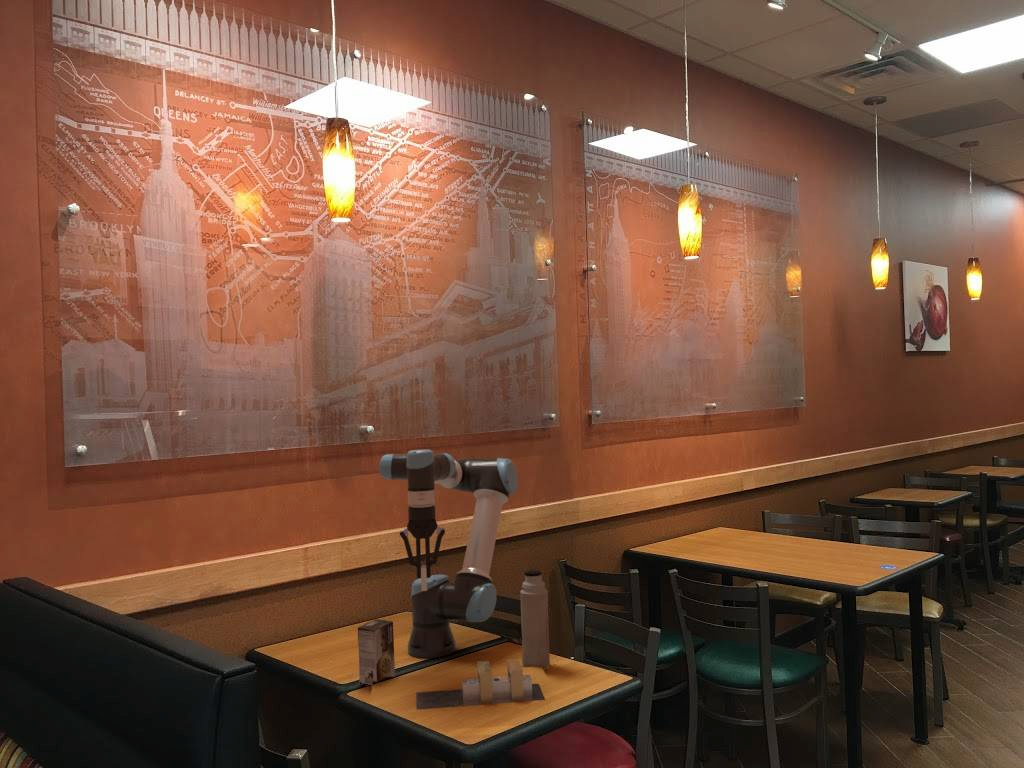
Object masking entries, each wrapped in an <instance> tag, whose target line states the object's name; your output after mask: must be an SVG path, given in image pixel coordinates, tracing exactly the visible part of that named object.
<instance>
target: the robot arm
mask: <svg viewBox="0 0 1024 768" xmlns="http://www.w3.org/2000/svg"><path fill="white" fill-rule="evenodd" d="M378 467H379V468H378V471H379V474H380V475H381V477H382V478H383V479H385V480H391V481H393V480H400V481H407V505H409V506H408V507H407V511H408V512H407V513H408V515H407V516H408V522H407V524H406V527H405V528H404V529H403V530H400V531H399V536H400V538H401V539H402V540H403V543H404V546H405V551H406V553H407V556H408V557H407V558H408V562H409V565H411V566H414V567H416V578H417V579H415V580H414V581H413V582H412V584H411V594H410V596H411V613H412V614H411V615H412V617H411V618H412V629H411V633H410V636H409V638H408V641H407V642H408V643H407V653H408V655H410V656H411V657H415V658H421V659H431V658H432V659H433V658H442V657H446V656H448V655H451V654H454V652H455V651H456V650H457V641H456V639H455V636H454V633H453V631H452V627H451V624H450V622H451V621H461V622H469V623H475V622H476V623H482V622H485V621H487V620H488V619H489V618H491V616H492V614H493V613H494V610H495V607H496V603H497V588H496V586H495V585H494V584H493V579H492V578H491V576H490V571H491V565H492V560H493V555H494V551H495V545H496V540H497V535H498V531H499V530H498V529H499V524H500V520H501V514H502V508H503V505H506V503H508V501H509V498H510V497H509V496H510V495H513V494H516V492H517V491H518V487H519V477H518V471H517V468H516V465H515V462H513V461H512V460H511V459H508V458H501V457H497V458H495V457H493V458H491V457H489V458H488V457H486V458H479V457H477V458H475V457H469V458H460V459H455V458H454V457H453V456H452V455H451V454H450V453H444V452H443V453H442V452H439V453H435V454H434V452H433V450H431V449H413V450H412V449H411V450H409V451H408V452H407V453H404V454H403V453H400V454H399V453H398V454H397V453H396V454H395V453H392V454H391V453H389V454H384V455H383V456H382V457H381V459H380V461H379V466H378ZM435 484H437V485H440V486H441V487H442V488H445V489H450V490H454V491H455V490H456V491H460V492H463V493H471V494H473V496H474V497H475V499H476V502H475V505H474V506H475V508H474V512H473V517H472V520H471V525H470V532H469V535H468V541H467V543H466V548H465V549H466V550H465V555H464V559H463V565H462V569H461V570H459V571H458V572H457V573H456V574H455V578H454V581H452V580H450V578H449V576H448V575H447V574H433V575H432V574H431V573H432V571H431V567H432V566H433V565H436V564H437V562H438V558H439V553H440V550H441V549H440V548H441V543H442V538H443V537H444V535H445V533H446V529H445V528H442V527H440V526H439V525H438V522H437V520H436V506H435V505H434V504H435V503H436V495H435V494H436V490H435V488H436V487H435ZM435 532H436V535H437V536H436V541H435V546H434V549H433V554H432V558H431V548H430V547H431V546H430V539H431V538H432V536H433V535H434V534H435ZM409 533H410V534H411V535H412V537H413V539H415V550H416V551H415V553H416V558H414V555H413V551H412V547H411V544H410V540H409ZM422 539H424V543H425V544H424V547H425V549H424V550H425V565H422V555H421V554H422V553H421V552H422V551H421V549H422V548H421V540H422ZM415 559H416V560H415Z"/></svg>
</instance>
